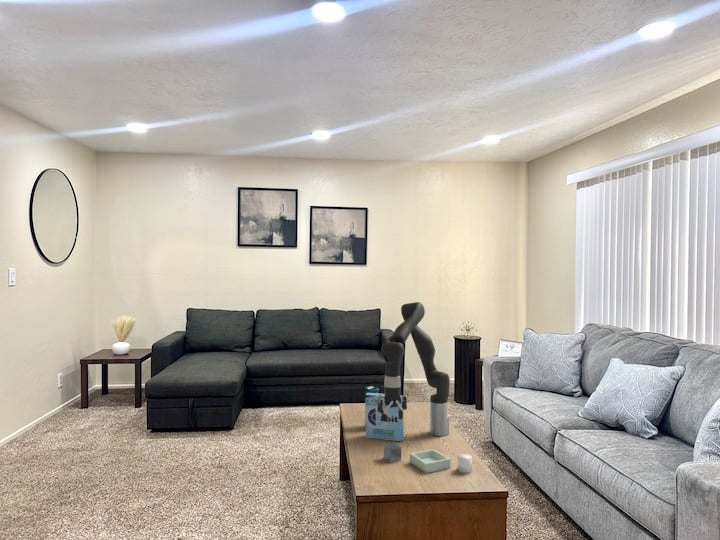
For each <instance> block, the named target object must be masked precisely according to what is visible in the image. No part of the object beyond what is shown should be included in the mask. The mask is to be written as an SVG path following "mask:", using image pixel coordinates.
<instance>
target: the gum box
mask: <svg viewBox="0 0 720 540" xmlns="http://www.w3.org/2000/svg"><path fill="white" fill-rule="evenodd" d="M402 396H404V394H401V395H400V397H402ZM384 398H385V395H384V393H383V392H382V393H379V392H378V393H370V392H368V393H367V394H366V393H365V399H366V427H365V438H367V439H378V440H385V441H396V442H403V440H404V438H405V436H404V435H405V434H404V424H405V423H404V417H403V418H402V419H399V418H398V412H399V409H398V408H397V407H392V408H389V409H388V410H387V412H386V413H385V414H386V422H384V421H383V420H382V413H380V412H378V399H384ZM399 403H400V405H401V406H402V401H400V402H399ZM384 404H385V402H384ZM384 404H383V406H384ZM386 407H387V406H386Z"/></svg>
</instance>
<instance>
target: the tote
mask: <svg viewBox="0 0 720 540" xmlns="http://www.w3.org/2000/svg"><path fill="white" fill-rule="evenodd" d="M409 463H410V464H412V465H413V466H414V467H415V468H417V469H419V470H421V471H422V472H423V473H425V474H429V473H433V472H437V471H443V470H447V469H451V458H449V457H448V456H446V455H444V454H443V453H441V452H439V451H438V450H436V449H433V448H432V449H428V450H421V451H416V452H411V453H409Z"/></svg>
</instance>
